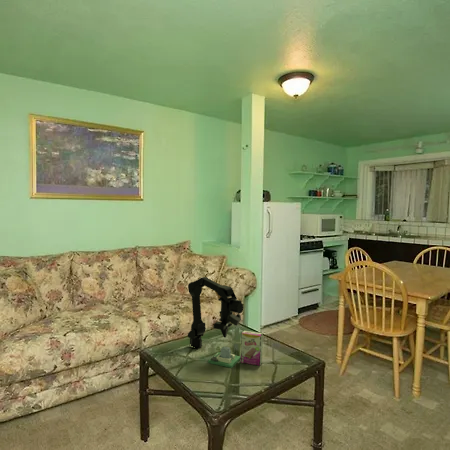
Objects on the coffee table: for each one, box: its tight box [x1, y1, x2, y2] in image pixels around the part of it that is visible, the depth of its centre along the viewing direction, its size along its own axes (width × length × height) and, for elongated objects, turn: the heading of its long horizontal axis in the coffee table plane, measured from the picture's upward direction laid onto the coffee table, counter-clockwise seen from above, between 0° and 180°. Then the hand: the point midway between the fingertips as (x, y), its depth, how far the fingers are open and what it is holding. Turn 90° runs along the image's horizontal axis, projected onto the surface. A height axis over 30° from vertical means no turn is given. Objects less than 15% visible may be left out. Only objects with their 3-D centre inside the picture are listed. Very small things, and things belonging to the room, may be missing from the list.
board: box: [207, 351, 241, 369], centre depth 174 cm, size 14×13×3 cm
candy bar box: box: [240, 330, 264, 367], centre depth 172 cm, size 11×5×16 cm, turn 71°
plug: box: [220, 346, 232, 359], centre depth 173 cm, size 5×4×6 cm
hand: (224, 337), depth 178 cm, fingers closed
